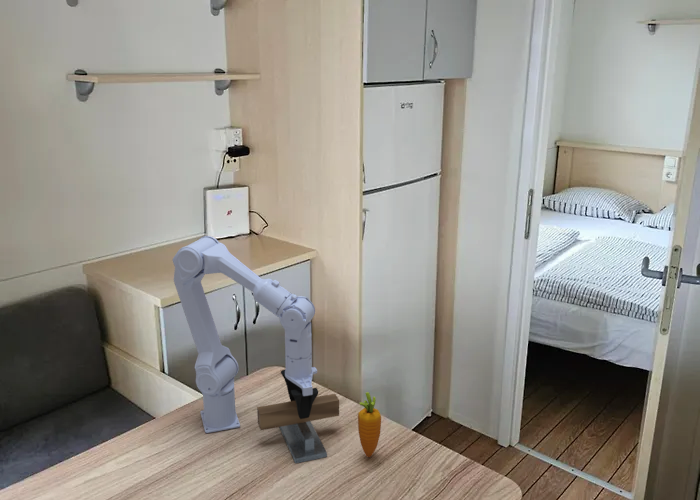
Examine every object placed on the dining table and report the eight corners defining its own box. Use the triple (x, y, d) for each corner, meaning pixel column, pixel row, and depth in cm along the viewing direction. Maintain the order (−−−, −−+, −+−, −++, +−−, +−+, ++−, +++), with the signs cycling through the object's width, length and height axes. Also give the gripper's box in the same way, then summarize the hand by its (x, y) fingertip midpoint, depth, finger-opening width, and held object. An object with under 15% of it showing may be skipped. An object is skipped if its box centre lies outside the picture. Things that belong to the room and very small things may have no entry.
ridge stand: (275, 418, 150) (275, 401, 149) (304, 413, 153) (303, 396, 151) (295, 463, 134) (294, 444, 133) (326, 456, 136) (326, 438, 135)
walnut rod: (257, 423, 140) (257, 407, 139) (335, 408, 146) (335, 393, 145) (260, 430, 138) (259, 414, 136) (339, 415, 143) (339, 400, 142)
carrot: (378, 465, 134) (379, 402, 129) (355, 462, 135) (355, 400, 130) (381, 451, 138) (383, 390, 134) (359, 448, 139) (360, 388, 135)
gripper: (326, 365, 132) (326, 422, 136) (307, 337, 145) (307, 389, 149) (293, 370, 130) (294, 428, 134) (276, 341, 143) (278, 394, 147)
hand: (299, 408), depth 141 cm, fingers open, 7 cm apart
